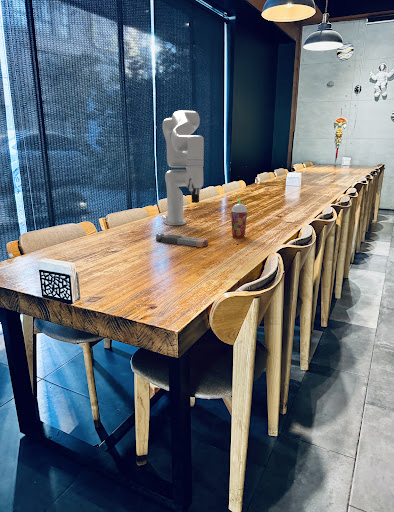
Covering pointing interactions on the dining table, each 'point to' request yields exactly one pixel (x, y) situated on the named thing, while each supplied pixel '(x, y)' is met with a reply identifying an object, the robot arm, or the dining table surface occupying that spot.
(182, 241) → the bar
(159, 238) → the tongs moving jaw
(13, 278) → the dining table surface
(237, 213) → the smoothie
